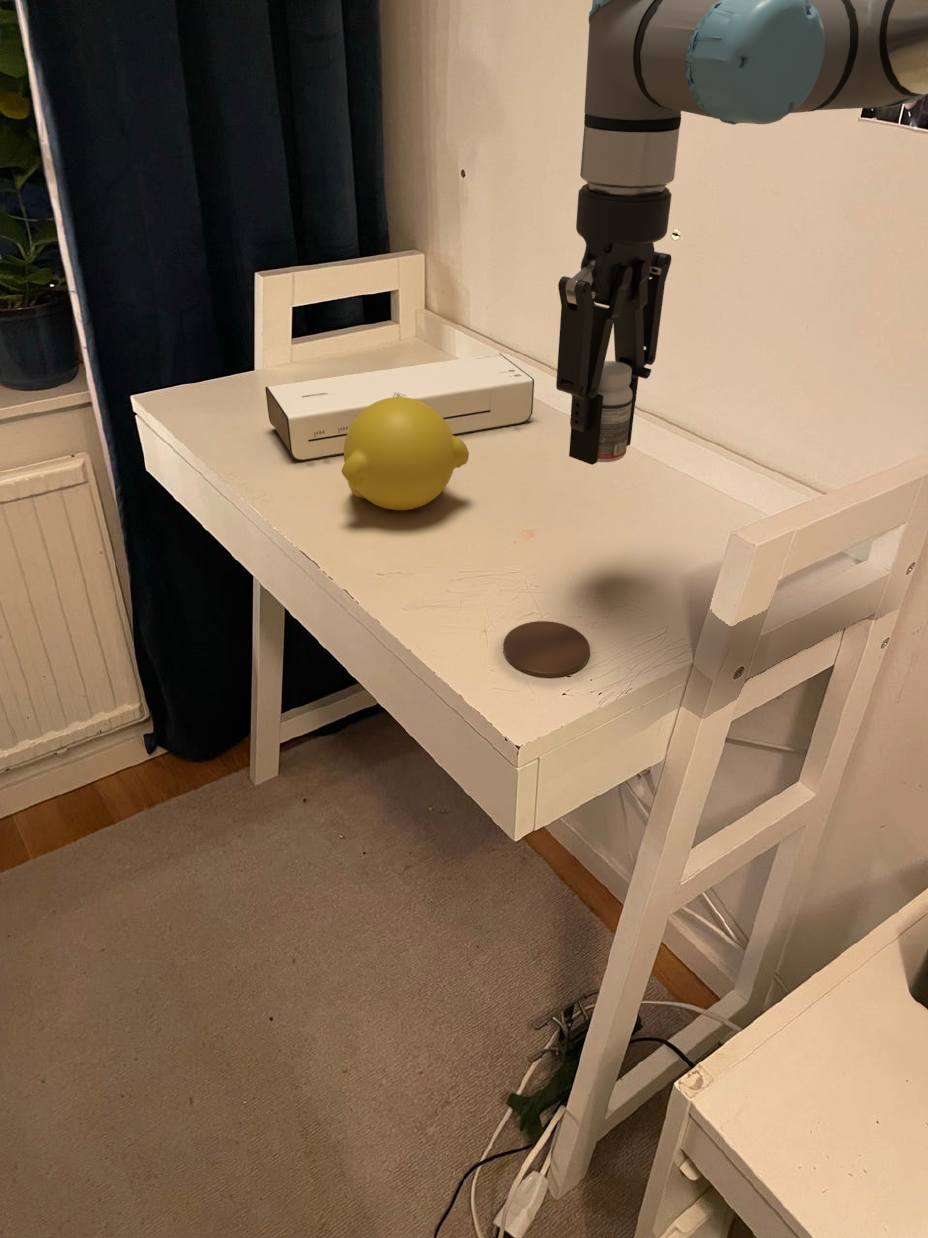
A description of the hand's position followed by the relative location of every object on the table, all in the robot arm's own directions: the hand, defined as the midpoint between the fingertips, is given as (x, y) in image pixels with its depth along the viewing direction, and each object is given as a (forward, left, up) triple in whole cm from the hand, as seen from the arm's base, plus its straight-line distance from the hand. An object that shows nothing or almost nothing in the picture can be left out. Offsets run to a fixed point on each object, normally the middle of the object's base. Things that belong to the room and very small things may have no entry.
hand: (600, 449), depth 89 cm
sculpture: (+25, +2, -14) cm, 29 cm away
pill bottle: (0, 0, -1) cm, 1 cm away
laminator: (+41, -14, -14) cm, 46 cm away
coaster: (-5, +13, -14) cm, 20 cm away
